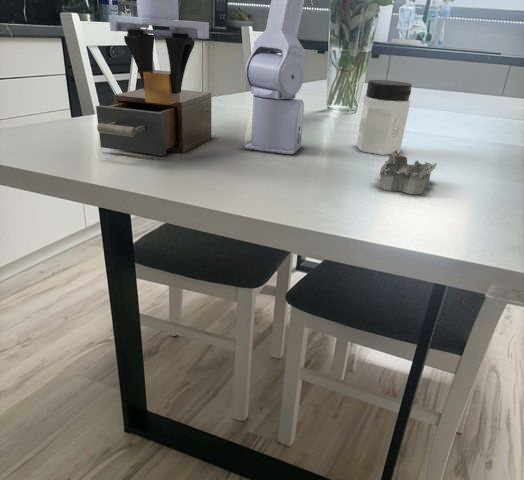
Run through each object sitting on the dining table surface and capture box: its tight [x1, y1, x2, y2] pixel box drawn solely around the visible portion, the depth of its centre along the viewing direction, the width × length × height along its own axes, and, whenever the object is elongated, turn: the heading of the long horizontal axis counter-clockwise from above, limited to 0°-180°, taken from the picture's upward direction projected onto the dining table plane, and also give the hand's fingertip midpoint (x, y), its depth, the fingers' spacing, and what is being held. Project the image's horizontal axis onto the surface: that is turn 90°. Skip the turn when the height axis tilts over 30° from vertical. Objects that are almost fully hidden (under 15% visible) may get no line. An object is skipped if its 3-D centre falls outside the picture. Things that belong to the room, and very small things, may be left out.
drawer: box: [95, 101, 179, 157], centre depth 82 cm, size 18×11×6 cm, turn 165°
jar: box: [356, 79, 413, 156], centre depth 94 cm, size 9×8×12 cm
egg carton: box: [378, 150, 437, 195], centre depth 76 cm, size 11×8×4 cm
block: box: [143, 69, 180, 105], centre depth 73 cm, size 4×4×4 cm
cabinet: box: [113, 88, 212, 154], centre depth 90 cm, size 15×13×8 cm
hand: (162, 91), depth 74 cm, fingers closed on block, 4 cm apart
